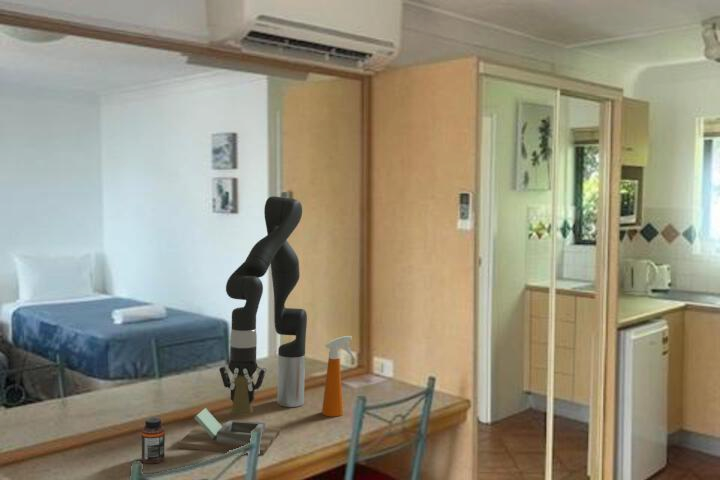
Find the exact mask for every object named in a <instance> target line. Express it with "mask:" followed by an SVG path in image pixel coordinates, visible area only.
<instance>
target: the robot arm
mask: <svg viewBox="0 0 720 480" xmlns="http://www.w3.org/2000/svg"><path fill="white" fill-rule="evenodd" d="M263 213H264V220H265V221H264V222H265V227H266V228H265V229H266V232H267V235H265V236H264V237H263V238H261V239H260V240H258V241H256V243H255V244H254V245H253V247H251V250H250V251H249V253H248V255H247V257H246V259H245V260H244V261H243V263H241V265H239V266H238V267H237V268H236V269H235V270H234V271H233V272H232V273H231V275H230V276H229V277H228V279H227V281H226V285H225V291H226V294H227V296H228V297H229V298H230V299H233V300H240V301H242V300H243V301H245V303H244V306H243V307H242V306H241V307H240V306H239V307H237V308H234V309H233V310H232V312H231V329H230V330H231V331H230V340H229V344H230V346H229V347H230V348H229V363H228V364H227V365H222V366H220V367H219V372H220V377H221V381H222V384H223V386H224V388H228V389H230V401H231V402H232V403H233V401H234V394H235V386H236V385H235V384H234V380H235V379H234V378H236V377H237V376H238V375H244V376H245V377H246V378H247V379H248V383H249V385H248V389H249V391H248V396H249V403H250V404H251V403H252V404H253V401H254V400H255V392H256V391H255V390H258V389H259V388H261V386H262V384H263V381H264V379H265V375H266V372H267V369H266V368H265V367H263V368H261V367H259V366H258V363H257V342H258V341H257V340H258V339H257V337H258V336H257V312H258V309H259V305H260V301H261V299H262V296H263V292H264V285H263V282H262V280H261V278H262V277H264V276H265V275H266V273H267V271H269V268H270V271H271V278H272V279H271V280H272V288H273V307H274V311H273V312H274V313H273V314H274V315H273V317H274V318H273V319H274V320H273V321H274V329H275V332H276V333H277V335H281V336H282V335H283V336H295V339H293V340H292V341H290V342H287V343H284V344H281V345H279V346H278V351H277V352H278V355H277V357H278V358H277V391H276V393H277V396H276V398H277V401H276V402H277V405H278V406H280V407H285V408H295V407H301V406H303V405H304V402H305V372H306V371H305V370H306V368H305V367H306V342H307V340H306V339H307V338H306V337H307V325H308V314H307V312H306V310H305V309H304V308H291V307H285V304H286V300H287V299H288V298H289V296H290V294H291V292H292V291H293V290H294V288H295V287H296V286H297V284H298V282H299V280H300V277H301V276H300V261H299V257H298V255H297V253H296V251H295V250H294V248H293V247H292V246H291V244H290V243H289V242H288V238H289V237H290V236H291V235H292V234H293V232H294V231H295V229H296V228H297V226H298V225H299V224H300V222H301V219H302V215H303V206H302V203H301V202H300V200H298V199H295V198H290V197H282V196H275V195H274V196H269V197H267V200H266V201H265V204H264V212H263ZM229 371H230V372H231V375H232V379H230V375H229ZM255 372H257V373H256V375H257V379H256V382H254V381H255V380H254V379H255V378H254V374H255ZM250 377H251V378H252V379H251V380H250Z"/></svg>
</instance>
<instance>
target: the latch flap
mask: <svg viewBox="0 0 720 480" xmlns="http://www.w3.org/2000/svg"><path fill="white" fill-rule="evenodd" d="M193 418H194V420H195V421H196V422H197V423H198V425H199V424H200V425H201V426H202V427H203V428H204V430H205V431H206V432H207V433H208V434H209V435H210V436H211V437H212V439H215V438H216V437H217V432H218V431H219V430H220V429H221V428H222V426H221V425H220V424H221V423H220V422H219V421H218V420H217V419H216V418H215V417H214V415H212V412H210V411H209V410H208V409H207V408H206V407H205V408H204V409H203V410H201V411H200V412H199V413H198V414H197V415H195V416H194V417H193Z"/></svg>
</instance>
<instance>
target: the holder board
mask: <svg viewBox="0 0 720 480" xmlns="http://www.w3.org/2000/svg"><path fill="white" fill-rule="evenodd" d="M219 424H220V425H221V426H222V428H221V429H220V430H219V431H218V432H217V437H216V438H215V439H212V437H211V436H210V435H209V434H208V433H207V432H206V431H205V430H204V428H203V427H202V426H201V425H200V424H199V423H198V425H197V426H195V427H194V428H193V429H192V430H191V431H189V432H188V433H187V434H186V435H185V436H184V437H183V438H181V439H180V440H179V441H178V442H177V443H178V445H177V448H178V449H179V448H180V449H187V448H189V449H188V450H198V451H199V450H200V451H201V450H202V451H212V452H213V451H215V452H224V453H227V452H226V451H229V450H233V449H236V448H239V447H241V446H244V445H246V444H248V443H250V438H251V431H252V430H253V429H259V430H261V432H262V437H261V444H260V455H259V456H264V455H265V454H266V453H267V452H268V450H269V448H270V447H271V446H272V444H273V443H274V442H275V440H276V439H277V438H278V436H279V435H280V433H281V429H280V428H276V427H266V423H265V422H260V421H259V422H258V421H248V420H247V421H246V420H235V419H234V420H233V419H232V420H231V419H229V420H228V421H227V422H225V423H219Z"/></svg>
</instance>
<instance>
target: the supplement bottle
mask: <svg viewBox="0 0 720 480" xmlns="http://www.w3.org/2000/svg"><path fill="white" fill-rule="evenodd" d="M165 433H166V430H165V427H164V426H163V425H162V419H161V418H160V417H158V416H157V417H156V416H154V417H153V416H151V417H148V418H146V419H145V425H144V426H143V428H142V429H141V461H142V462H143V463H146V464H157V463H160V462H162V461H164V459H165V439H166V438H165V435H166V434H165Z"/></svg>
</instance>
